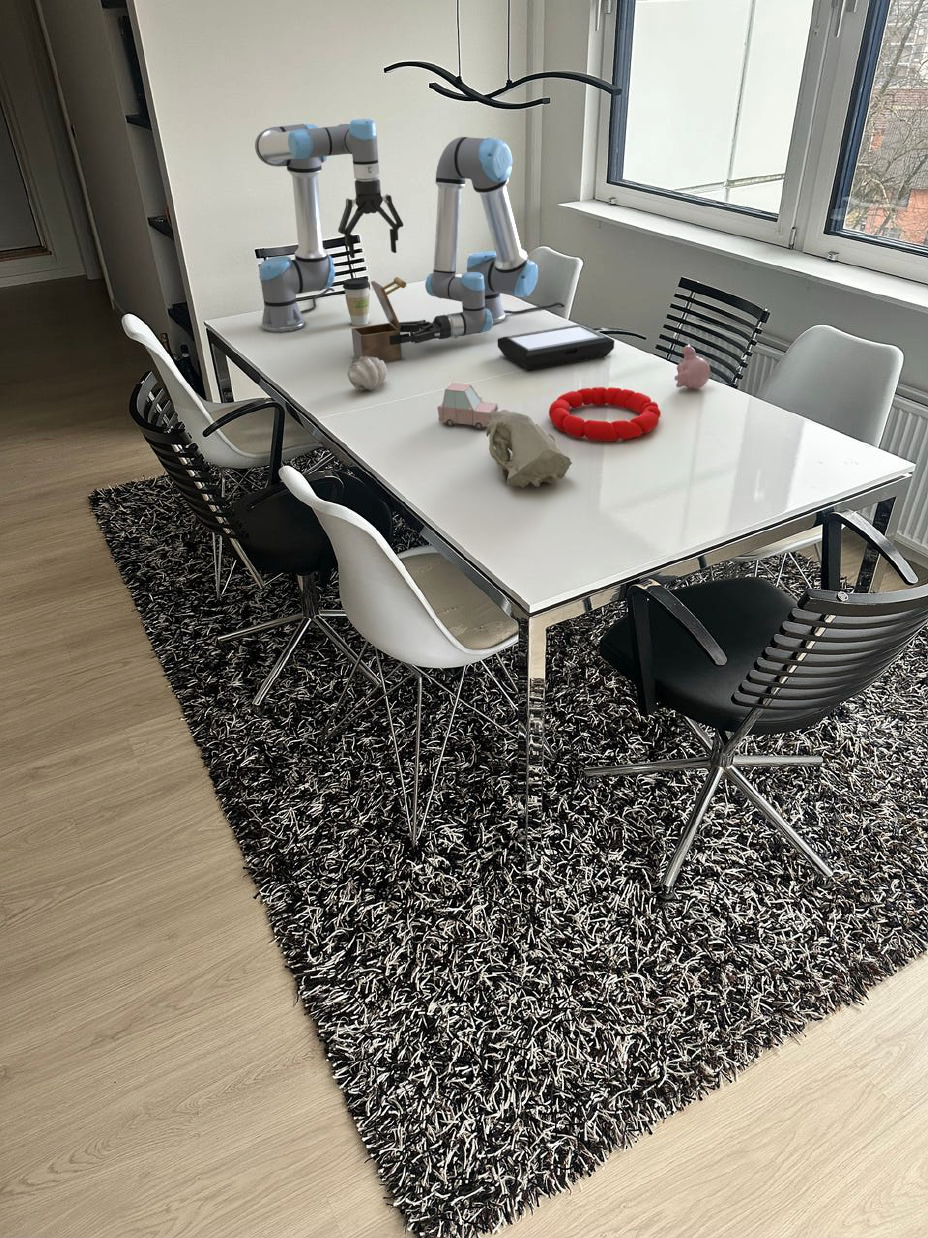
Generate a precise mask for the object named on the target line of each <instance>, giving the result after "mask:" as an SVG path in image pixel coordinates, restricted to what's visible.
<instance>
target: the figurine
mask: <svg viewBox="0 0 928 1238" xmlns="http://www.w3.org/2000/svg"><path fill="white" fill-rule="evenodd" d="M682 354H683V358H684V359H683V361H682V362H679V363H678V364H677V365H676V372H677V375H675V376H674V381H675V382H676V381H677V382H676V384H675V386H676V388H681V387H686V388H688V389H693V390H694V389H695V390H696V389H700V388H703V387H704V386H705V385H706V384H707V383H708V382H709V379H710V377H711V367H710V364H709V362H708V361H706V359H704V358H702V357H700V356H697V353H696V350H695V349H694V347H692V345H690V344H686V345H685V346H684V347H683V348H682Z"/></svg>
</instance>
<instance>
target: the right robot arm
mask: <svg viewBox="0 0 928 1238" xmlns="http://www.w3.org/2000/svg"><path fill="white" fill-rule="evenodd" d="M512 165H513V156H512V152H511V150H510V147H509V146H508V144H507V143H506V142H505V141H504V140H501V139H496V138H493V137H486V138H483V137H469V136H459V137H456V138H454V139H452V140H451V141H450V142H449V143H448V144H447V145H446V146H445V147H444V149H443V151H442V153H441V155H440V157H439V159H438V164H437V166H436V171H435V185H436V186H437V187H438V188H437V204H436V206H437V207H436V222H435V237H434V238H435V239H434V240H435V241H434V254H433V256H434V259H433V271H432V273H430V274H428V275H427V277H426V280H425V284H424V287H425V291H426V293H427V294H428V295H429V296H432V297H435V298H438V299H445V300H451V301H455V302H460V303H461V304H462V311H460V312H453V313H447V314H441V315H436V316H434V318H433V321H432V322H431V321H427V320H426V319H422V320H421V319H420V320H411V321H399V323H400V326H401V328H400V329H399V330H400V335H394V336H390V345H395V344H401V345H402V344H407V343H414V344H420V343H424V342H428V341H431V340H436V339H437V340H445V339H449V338H455V339H458V337H462V336H468V335H475V334H476V335H477V334H478V335H479V334H482V333H487V332H489V331H491V329H492V328H493V325H496V324H500V323H502V322H504V321H505V320H506V314H513V315H514V314H515V315H518V314H523V313H527V312H532V311H536V310H544V309H550V308H554V307H556V306H561V307H564V308H565V307H566V305H565V304H564V303H562V302H558V301H557V302H554V303H552V304H548V305H541V306H535V307H530V308H529V307H528V308H525V309H520V310H506V309H504V307H503V304H502V300H501V294H502V295H508V296H512V297H513V296H514V297H517V298H519V297H521V298H522V297H523V298H525V297H527V296H529V295H530V294H532V292H533V291H534V290H535V287H536V285H537V282H538V278H539V268H538V265H537V264H536V262H534V261H532V260H531V261H530V260H529V257H528V253H527V251H526V250H525V249H523V248H522V247H521V243H520V239H519V235H518V230H517V226H516V223H515V218H514V213H513V210H512V205H511V202H510V198H509V197H510V196H509V193H508V189H507V184H508V182H509V179H510V178H509V177H510V176H511V173H512V171H513V166H512ZM466 180H471V185H472V188H473V190H474V192H476V193H478V194H479V196H480V199H481V203H482V206H483V210H484V211H483V212H484V214H485V218H486V221H487V225H488V228H489V233H490V236H491V237H490V238H491V241H492V244H493V247H494V250H487V251H480V252H476V253H473V254H470V255H468V257H467V260H466V272H464V273H462V275H461V276H456V273H457V272H456V271H457V259H458V245H459V229H460V218H461V217H460V216H461V201H462V191H463V188H464V187H466Z"/></svg>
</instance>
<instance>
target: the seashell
mask: <svg viewBox="0 0 928 1238" xmlns="http://www.w3.org/2000/svg"><path fill="white" fill-rule="evenodd" d="M387 375H388V371H387V366H386V362H384V361H383V360H379V359H378V358H377V357H376V358H374V357H368V356H365V357H363V356H361V357H360V359H355V358H354V359H351V361H350V363H349V365H348V368H347V378H348V381H349V383H350V384H351V385H352V386H353V387H354V388H355V389H357V390H361V391H364V390H371V391H372V390H376V389H379V387H380V386H381V385H382V384H383V383H384V381H385V380H386V378H387Z"/></svg>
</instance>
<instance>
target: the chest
mask: <svg viewBox="0 0 928 1238" xmlns="http://www.w3.org/2000/svg"><path fill="white" fill-rule="evenodd" d="M400 334H401V332H400V330H399V329H398V328H396V327H395V326H394V325H392V324H391V323H390V322H385V323H378V324H372V325H364V326H357V327H352V328H351V339H352V349H353V358H354V359H360V357H361V356H363V357H365V356H368V357H374V358H376V357H377V358H378V359H379V360H383V361H384V363H389V362H390V363H391V362H395V361H401V360H403V355H402V354H403V353H402V352H403V351H402V343H401V344H395V345H390V336H394V335H400Z"/></svg>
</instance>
